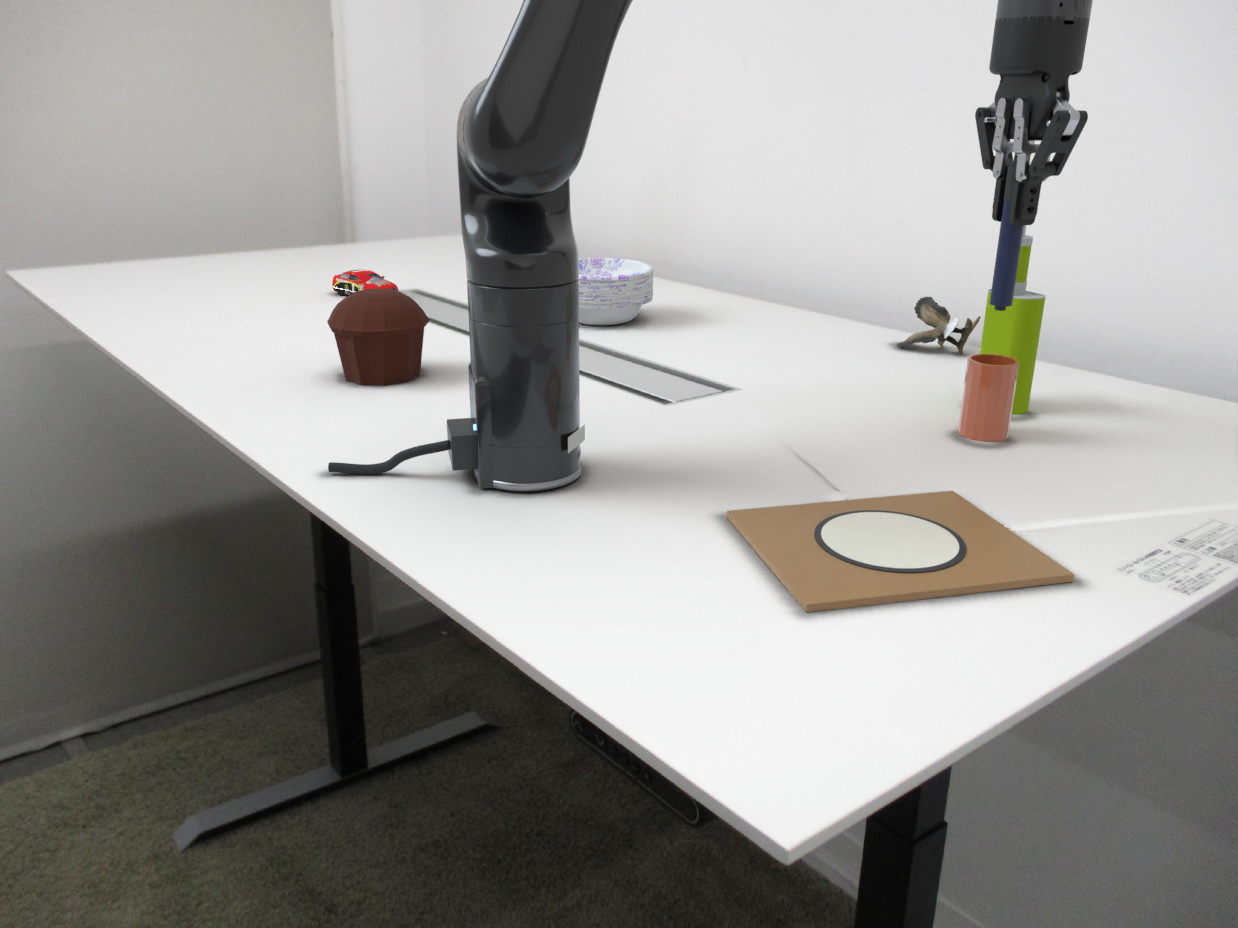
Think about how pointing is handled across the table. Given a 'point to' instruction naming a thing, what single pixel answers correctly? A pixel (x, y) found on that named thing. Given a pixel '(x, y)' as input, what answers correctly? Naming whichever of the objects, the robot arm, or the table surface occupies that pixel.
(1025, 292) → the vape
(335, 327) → the muffin
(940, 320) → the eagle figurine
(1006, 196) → the marker
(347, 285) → the race car
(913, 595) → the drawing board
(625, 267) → the paper bowls
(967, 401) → the pen pot
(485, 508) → the table surface
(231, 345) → the table surface
